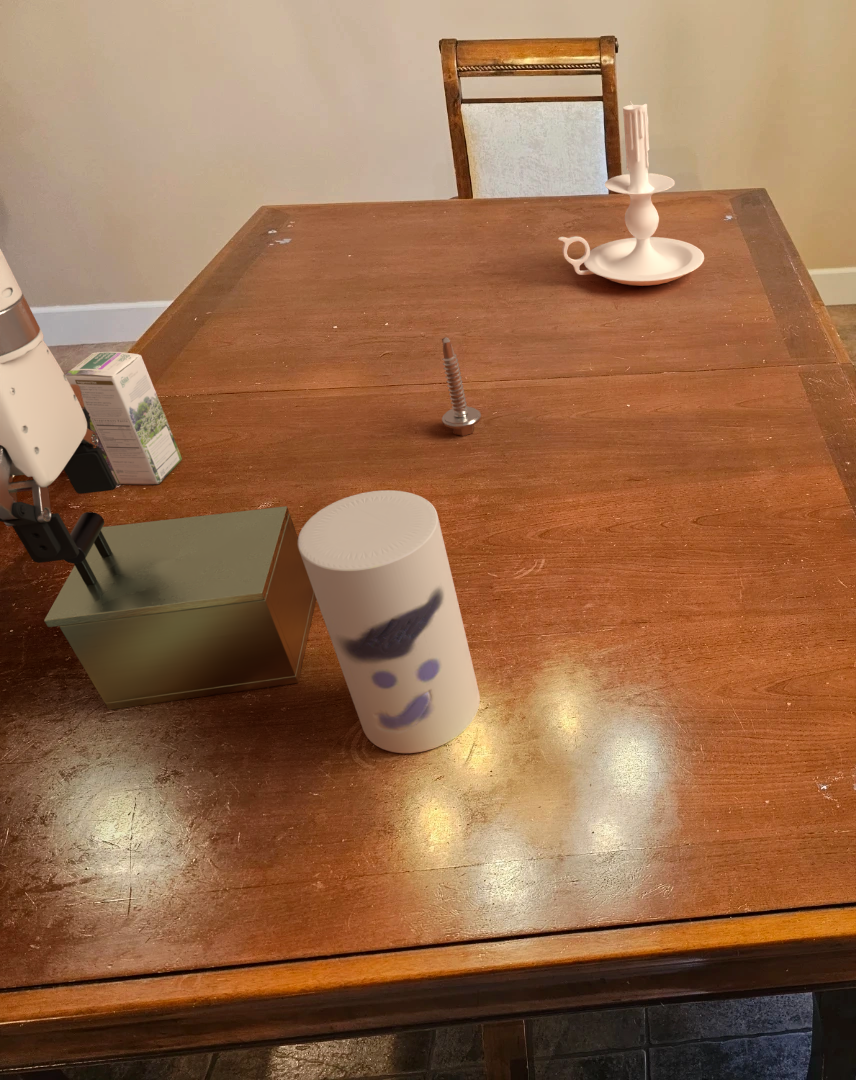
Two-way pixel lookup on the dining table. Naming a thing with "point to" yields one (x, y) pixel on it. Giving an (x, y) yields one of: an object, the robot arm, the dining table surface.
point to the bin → (203, 643)
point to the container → (393, 617)
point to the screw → (457, 396)
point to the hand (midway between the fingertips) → (78, 522)
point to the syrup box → (126, 417)
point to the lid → (168, 565)
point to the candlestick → (638, 222)
